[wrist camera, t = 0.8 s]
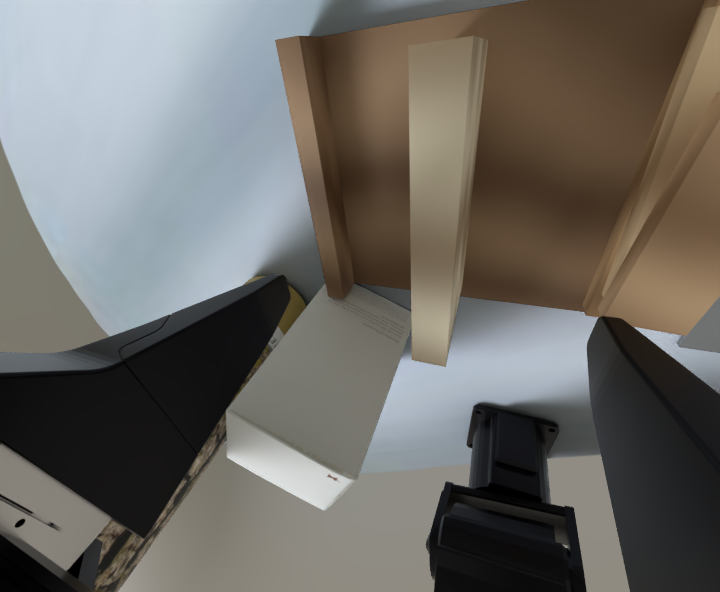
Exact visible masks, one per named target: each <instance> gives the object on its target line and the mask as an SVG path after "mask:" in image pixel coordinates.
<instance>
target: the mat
mask: <svg viewBox="0 0 720 592" xmlns="http://www.w3.org/2000/svg"><path fill="white" fill-rule="evenodd" d="M677 344H678V346H679V347H683V348H690V349H697V350H703V351H710V352H717V353H720V296H719V298H718V299H717V300H716V301H715V302H714V304H713V305H712V306H711V307H710V308H709V310H708V311H707V312H706V313H705V314H704V315H703V317H702V318H701V319H700V320H699V321H698V323H697V324H696V325H695V326H694V327H693V329H692V330H691V331H690V332H689V333H688V334H687V336H683V335H682V336H681V338H680V339H679V341H678V342H677Z"/></svg>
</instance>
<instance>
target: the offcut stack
mask: <svg viewBox="0 0 720 592" xmlns="http://www.w3.org/2000/svg"><path fill="white" fill-rule="evenodd" d="M719 296H720V0H705V1H704V3H703V6H702V8H701V11H700V13H699V15H698V18H697V20H696V23H695V25H694V28H693V30H692V33H691V35H690V38H689V40H688V43H687V45H686V48H685V50H684V53H683V55H682V58H681V60H680V63H679V65H678V68H677V70H676V73H675V75H674V78H673V80H672V83H671V85H670V88H669V90H668V93H667V95H666V98H665V100H664V103H663V105H662V108H661V110H660V113H659V115H658V118H657V120H656V123H655V125H654V128H653V130H652V133H651V135H650V138H649V140H648V143H647V145H646V148H645V150H644V153H643V155H642V158H641V160H640V163H639V165H638V168H637V170H636V173H635V175H634V178H633V180H632V183H631V185H630V188H629V190H628V192H627V195H626V197H625V200H624V202H623V205H622V207H621V210H620V212H619V215H618V217H617V220H616V222H615V225H614V227H613V230H612V232H611V235H610V237H609V240H608V242H607V245H606V247H605V250H604V252H603V255H602V257H601V260H600V262H599V265H598V267H597V270H596V272H595V275H594V277H593V280H592V282H591V285H590V287H589V290H588V292H587V295H586V297H585V300H584V302H583V308H584V311H585V315H586V316H593V317H601V316H609V317H617V318H621V319H623V320H625V321H626V322H627V323H629V324H630V325H631V326H633V327H639V328H644V329H650V330H656V331H661V332H667V333H672V334H678V335H683V336H687V334H688V333H689V332H690V331H691V330H692V329H693V327H694V326H695V325H696V324H697V323H698V321H699V320H700V319H701V318H702V317H703V315H704V314H705V313H706V312H707V311H708V310H709V308H710V307H711V306H712V305H713V304H714V302H715V301H716V300H717V299H718V298H719Z"/></svg>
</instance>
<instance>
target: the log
mask: <svg viewBox="0 0 720 592" xmlns="http://www.w3.org/2000/svg"><path fill="white" fill-rule="evenodd" d="M263 277H265V276H258V277H254V278H252V279H250V280H248V281H247V282H246V283H245V284H248V283H250V282H253V281H255V280H258V279H260V278H263ZM245 284H244V285H245ZM288 287H289V290H290V294H291V299H290V302H289V304H288V306H287V308H286V310H285V312H284V314H283V316H282V318H281V320H280V323H279V325H278V327H277V329H276V331H275V333H274V334H273V336H272V338H271V340H270V341H269V343H268V345H267V346H266V348H265V349H264V351H263V353H262V354H261V356H260V357H259V359H258V361H257V362H256V364H255V365H254V367H253V368H252V370H251V372H250V373H249V375H248V376H247V378H246V380H245V381H244V383H243V384H242V386H241V388H240V389H239V391H238V392H237V394H236V396H235V397H234V399H233V400H232V402H233V401H234V400H235V399H236V397H237V396H238V395H239V393H240V392H241V391H242V390H243V388H244V387H245V386H246V384H247V383H248V382H249V381H250V379H251V378H252V377H253V375H254V374H255V373H256V372H257V370H258V369H259V368H260V366H261V365H262V364H263V363H264V361H265V360H266V359H267V357H268V356H269V355H270V354H271V352H272V351H273V350H274V348H275V347H276V346H277V345H278V343H279V342H280V341H281V339H282V338H283V337H284V335H285V334H286V333H287V332H288V330H289V329H290V328H291V326H292V325H293V324H294V322H295V321H296V320H297V319H298V317H299V316H300V315H301V313H302V312H303V311H304V310H305V308H306V307H307V306H306V304H305V302H304V300H303V299H302V297H301V296H300V295H299V294H298V293H297V292H296V291H295V290H294V289H293V288H292V287H291V286H289V285H288ZM232 402H231V403H230V405H231V404H232ZM230 405H229V406H230ZM226 441H227V434H226V411H225V413H224V415H223V416H222V418H221V419H220V421H219V423H218V424H217V426H216V427H215V429H214V431H213V432H212V434H211V435H210V437H209V438H208V440H207V442H206V443H205V445H204V446H203V448H202V450H201V451H200V453H199V454H198V456H197V458H196V459H195V461H194V463H193V464H192V466H191V467H190V469H189V471H188V472H187V474H186V475H185V477H184V479H183V480H182V482H181V483H180V485H179V487H178V488H177V490H176V491H175V493H174V494H173V496H172V498H171V499H170V501H169V502H168V504H167V506H166V507H165V509H164V510H163V512H162V514H161V515H160V517H159V518H158V520H157V522H156V523H155V525H154V526H153V528H152V529H151V531H150V532H149V534H148V535H147V536H146V538H145V539H142V538H141V537H139V536H137V535H135V534H134V533H132V532H130V531H129V530H127V529H125V528H123V527H122V526H120V525H118V524H116V523H115V522H113V521H111V520H110V521H109V523H108V524H107V525H106V526H105V527H104V529H103V530H102V531H101V532H100V533H99V534H98V536H97V537H96V538H97V539H98V540H100V541H102V542H103V545H102V550H101V555H100V560H99V565H98V570H97V575H96V580H95V585H94V590H93V591H95V592H118V591H119V589H120V588H121V587H122V585H123V584H124V582H125V581H126V580H127V578H128V577H129V575H130V574H131V572H132V571H133V570H134V568H135V567H136V566H137V564H138V563H139V561H140V560H141V559H142V557H143V556H144V554H145V553H146V552H147V550H148V549H149V548H150V546H151V545H152V543H153V542H154V541H155V539H156V538H157V536H158V535H159V534H160V532H161V531H162V530H163V528H164V527H165V525H166V524H167V523H168V521H169V520H170V518H171V517H172V515H173V514H174V513H175V511H176V510H177V509H178V507H179V506H180V505H181V503H182V502H183V500H184V499H185V498H186V496H187V495H188V493H189V492H190V491H191V489H192V488H193V486H194V485H195V484H196V482H197V481H198V480H199V478H200V477H201V475H202V474H203V473H204V471H205V470H206V468H207V467H208V466H209V464H210V463H211V461H212V460H213V459H214V457H215V456H216V454H217V453H218V452H219V450H220V449H221V447H222V446H223V445H224V443H225V442H226Z"/></svg>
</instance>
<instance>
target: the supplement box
mask: <svg viewBox="0 0 720 592" xmlns="http://www.w3.org/2000/svg"><path fill="white" fill-rule="evenodd" d="M411 328H412V326H411V311H409V310H407V309H405V308H403V307H401V306H399V305H397V304H395V303H393V302H391V301H389V300H387V299H385V298H383V297H381V296H379V295H377V294H375V293H374V292H372V291H370V290H368V289H366V288H364V287H362V286H360V285H358V284H356V283H354V285H353V286H352V288H351V289H350V291H349V292H348V294H347V295H346V297H345V298H344V299H340V298H333V297H328V293H327V288H326V283H325V284H324V285H323V286H322V288H321V289H320V290H319V291H318V293H317V294H316V295H315V297H314V298H313V299H312V301H311V302H310V303H309V304H308V306H307V307H306V308H305V310H304V311H303V312H302V313H301V315H300V316H299V317H298V319H297V320H296V321H295V322H294V324H293V325H292V326H291V328H290V329H289V330H288V332H287V333H286V334H285V335H284V337H283V338H282V339H281V341H280V342H279V343H278V345H277V346H276V347H275V348H274V350H273V351H272V352H271V354H270V355H269V356H268V357H267V359H266V360H265V361H264V363H263V364H262V365H261V366H260V368H259V369H258V370H257V372H256V373H255V374H254V375H253V377H252V378H251V379H250V381H249V382H248V383H247V384H246V386H245V387H244V388H243V390H242V391H241V392H240V393H239V395H238V396H237V397H236V399H235V400H234V401H233V402H232V404H231V405H230V406H229V407H228V408H227V410H226V434H227V458H229V459H231V460H232V461H234V462H236V463H237V464H239V465H241V466H243V467H245V468H246V469H248V470H250V471H251V472H253V473H255V474H257V475H259V476H260V477H262V478H264V479H266V480H268V481H269V482H271V483H273V484H275V485H277V486H279V487H280V488H282V489H284V490H286V491H288V492H290V493H292V494H293V495H295V496H297V497H299V498H301V499H303V500H304V501H306V502H309V503H310V504H312V505H314V506H316V507H318V508H320V509H322V510H327V509H328V508H329V507H330V506H331V504H333V503H334V501H336V500H337V498H339V497H340V496H341V495H342V494H343V493H344V492H345V491H346V489H348V488H349V487H350V486H351V485H352V484H353V483H354V482H355V481H356V480H357V478H358V476H359V473H360V470H361V467H362V464H363V461H364V459H365V456H366V453H367V451H368V448H369V445H370V442H371V439H372V437H373V434H374V431H375V428H376V426H377V423H378V420H379V417H380V414H381V412H382V409H383V406H384V403H385V400H386V398H387V395H388V392H389V389H390V387H391V384H392V381H393V378H394V375H395V373H396V370H397V367H398V364H399V362H400V359H401V356H402V353H403V350H404V347H405V345H406V342H407V339H408V337H409V334H410V331H411Z"/></svg>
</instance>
